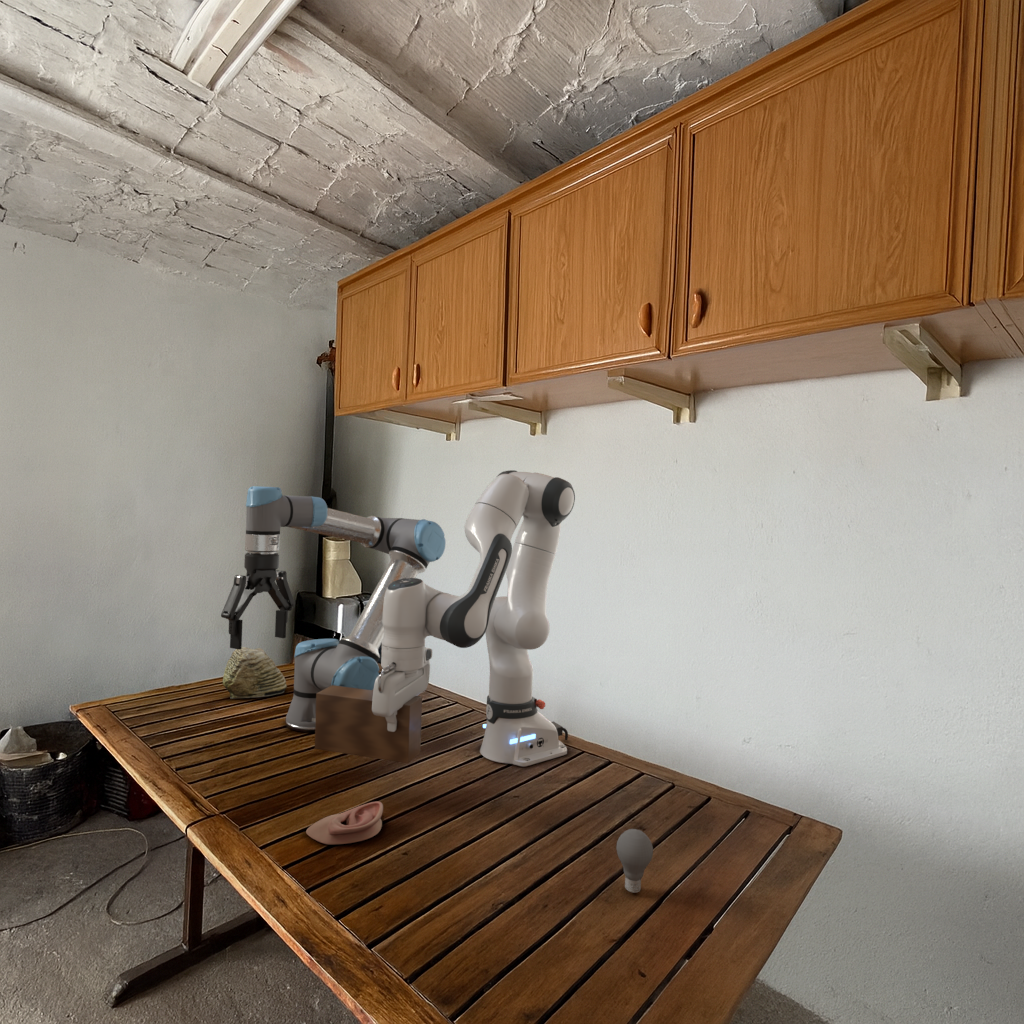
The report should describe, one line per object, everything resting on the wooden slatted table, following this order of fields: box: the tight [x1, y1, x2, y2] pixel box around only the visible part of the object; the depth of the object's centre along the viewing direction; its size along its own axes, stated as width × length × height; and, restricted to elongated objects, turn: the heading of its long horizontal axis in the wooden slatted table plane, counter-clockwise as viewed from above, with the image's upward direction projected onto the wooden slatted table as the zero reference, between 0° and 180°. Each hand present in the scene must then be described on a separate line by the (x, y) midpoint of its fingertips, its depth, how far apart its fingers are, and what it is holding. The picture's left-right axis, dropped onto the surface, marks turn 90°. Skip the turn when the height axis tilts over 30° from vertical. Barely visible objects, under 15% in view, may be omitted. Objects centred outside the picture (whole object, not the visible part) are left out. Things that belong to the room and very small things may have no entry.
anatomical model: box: [305, 800, 384, 846], centre depth 121 cm, size 13×4×12 cm
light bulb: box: [615, 828, 654, 894], centre depth 106 cm, size 6×6×10 cm
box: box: [314, 685, 423, 764], centre depth 133 cm, size 21×6×12 cm, turn 75°
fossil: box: [222, 646, 288, 699], centre depth 198 cm, size 9×18×15 cm, turn 132°
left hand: (258, 642), depth 148 cm, fingers open, 13 cm apart
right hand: (400, 723), depth 131 cm, fingers closed on box, 6 cm apart
